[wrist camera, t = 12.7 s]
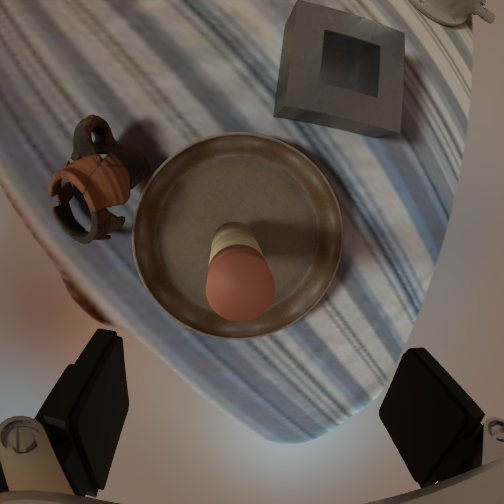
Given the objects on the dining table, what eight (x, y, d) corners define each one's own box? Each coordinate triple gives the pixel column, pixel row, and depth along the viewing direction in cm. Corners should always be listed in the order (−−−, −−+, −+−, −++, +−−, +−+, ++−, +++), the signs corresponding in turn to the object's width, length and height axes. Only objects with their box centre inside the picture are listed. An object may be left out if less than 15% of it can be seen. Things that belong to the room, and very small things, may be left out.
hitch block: (378, 49, 28) (404, 33, 23) (372, 137, 31) (400, 133, 25) (285, 24, 27) (297, 0, 21) (273, 116, 30) (284, 105, 24)
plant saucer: (133, 142, 29) (124, 140, 26) (333, 136, 31) (344, 133, 28) (152, 328, 35) (146, 342, 32) (328, 317, 37) (337, 331, 33)
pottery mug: (168, 216, 32) (116, 257, 25) (106, 213, 35) (57, 246, 29) (147, 100, 26) (81, 118, 19) (84, 116, 29) (25, 136, 23)
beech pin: (258, 224, 29) (280, 260, 18) (252, 265, 30) (269, 324, 19) (214, 219, 29) (209, 253, 17) (210, 260, 30) (203, 318, 18)
